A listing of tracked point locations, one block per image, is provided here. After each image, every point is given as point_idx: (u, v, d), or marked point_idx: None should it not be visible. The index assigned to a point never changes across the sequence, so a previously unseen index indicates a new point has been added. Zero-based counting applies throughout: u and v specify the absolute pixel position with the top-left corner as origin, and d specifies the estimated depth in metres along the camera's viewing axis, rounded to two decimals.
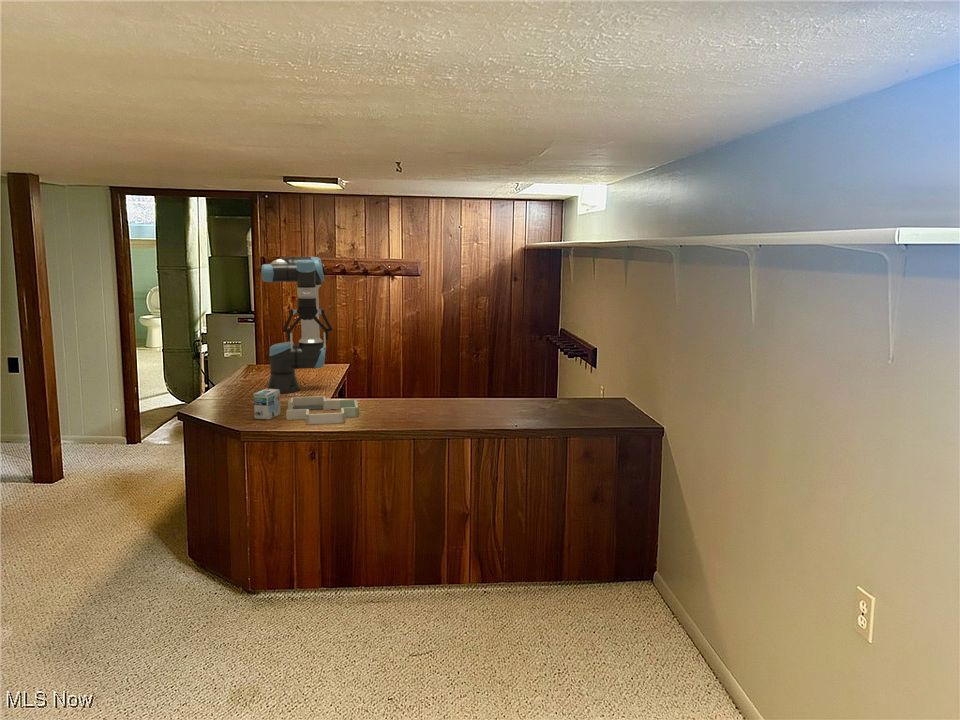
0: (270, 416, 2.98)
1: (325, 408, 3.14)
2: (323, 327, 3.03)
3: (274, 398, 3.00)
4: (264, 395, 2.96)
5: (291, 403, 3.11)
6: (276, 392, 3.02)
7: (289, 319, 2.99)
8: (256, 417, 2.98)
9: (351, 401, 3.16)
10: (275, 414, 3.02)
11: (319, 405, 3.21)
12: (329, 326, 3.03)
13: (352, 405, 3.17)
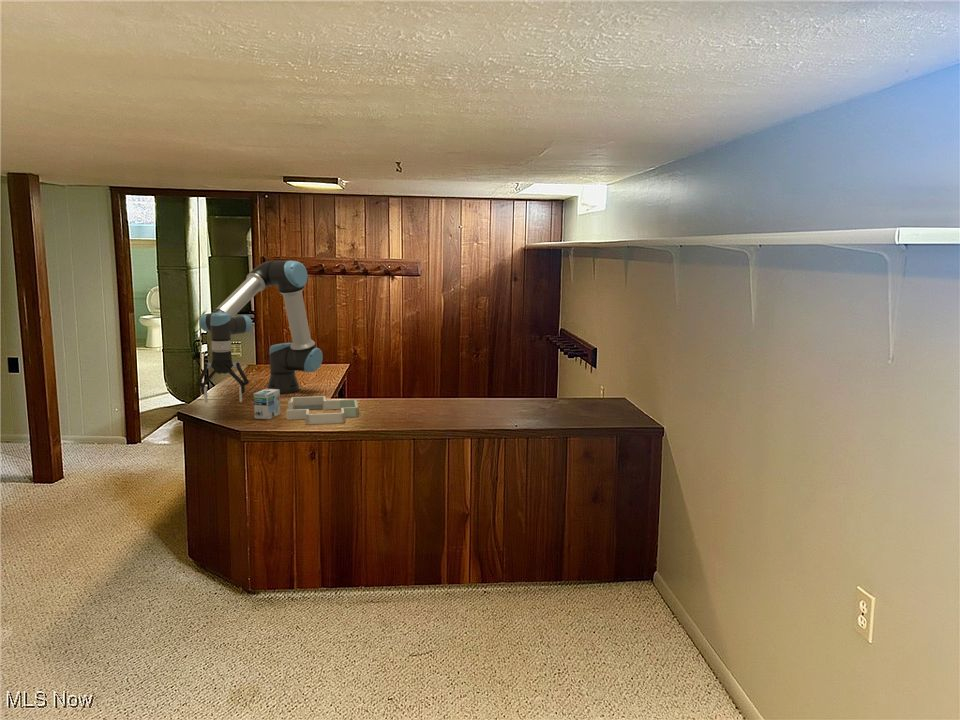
0: (270, 416, 2.98)
1: (325, 408, 3.14)
2: (239, 381, 2.96)
3: (274, 398, 3.00)
4: (264, 395, 2.96)
5: (291, 403, 3.11)
6: (276, 392, 3.02)
7: (203, 373, 2.93)
8: (256, 417, 2.98)
9: (351, 401, 3.16)
10: (275, 414, 3.02)
11: (319, 405, 3.21)
12: (245, 380, 2.97)
13: (352, 405, 3.17)
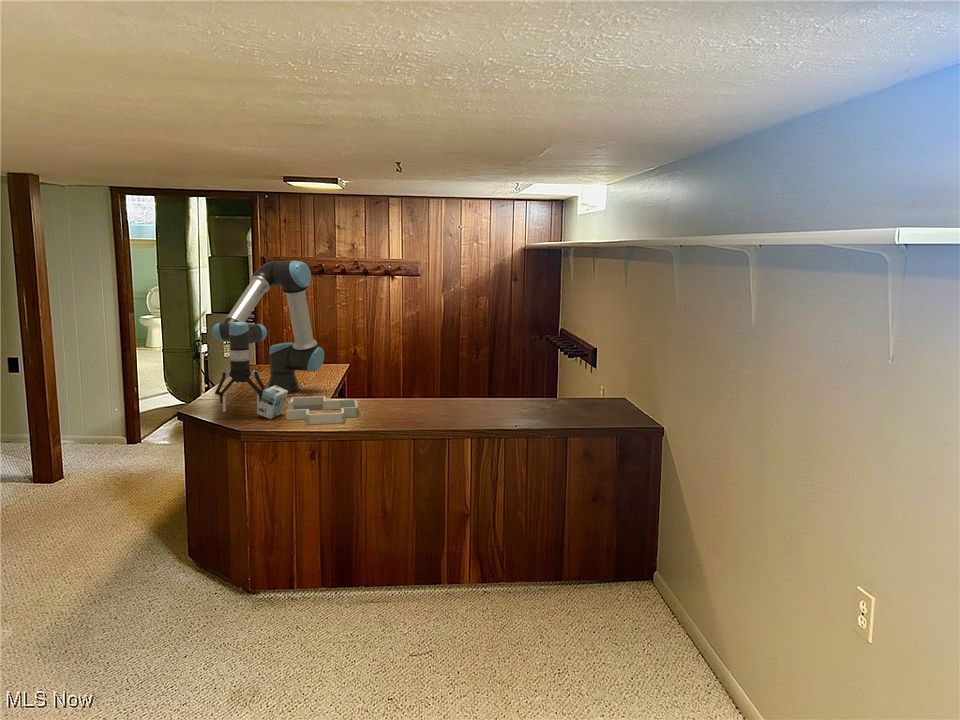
0: (272, 416, 2.98)
1: (325, 408, 3.14)
2: (256, 390, 2.98)
3: (280, 399, 3.00)
4: (273, 395, 2.95)
5: (291, 403, 3.11)
6: (284, 393, 3.02)
7: (221, 382, 2.95)
8: (258, 413, 2.97)
9: (351, 401, 3.16)
10: (277, 414, 3.02)
11: (319, 405, 3.21)
12: (263, 389, 2.99)
13: (352, 405, 3.17)
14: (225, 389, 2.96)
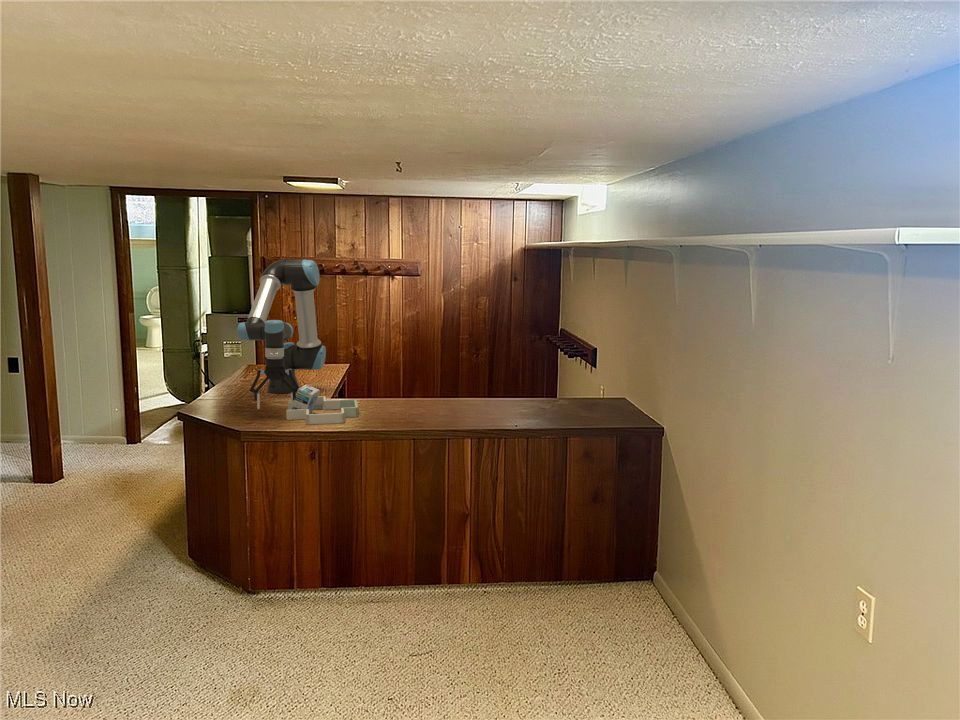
0: None
1: (325, 408, 3.14)
2: (290, 387, 3.01)
3: (313, 398, 3.03)
4: (308, 394, 2.98)
5: None
6: (317, 392, 3.05)
7: (256, 379, 2.98)
8: None
9: (351, 401, 3.16)
10: (309, 413, 3.05)
11: (319, 405, 3.21)
12: (296, 386, 3.01)
13: (352, 405, 3.17)
14: (260, 386, 2.98)
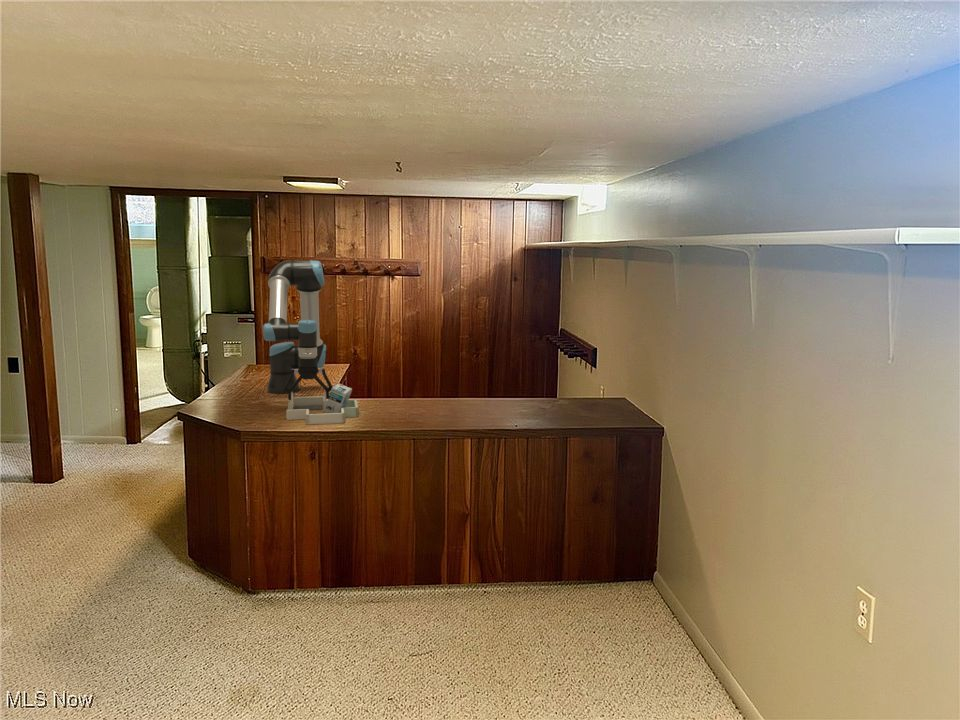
0: None
1: None
2: (324, 386, 3.04)
3: (347, 397, 3.06)
4: (342, 393, 3.01)
5: None
6: (350, 391, 3.08)
7: (290, 379, 3.00)
8: (326, 410, 3.02)
9: (351, 401, 3.16)
10: None
11: (319, 405, 3.21)
12: (330, 385, 3.04)
13: (352, 405, 3.17)
14: (293, 386, 3.01)
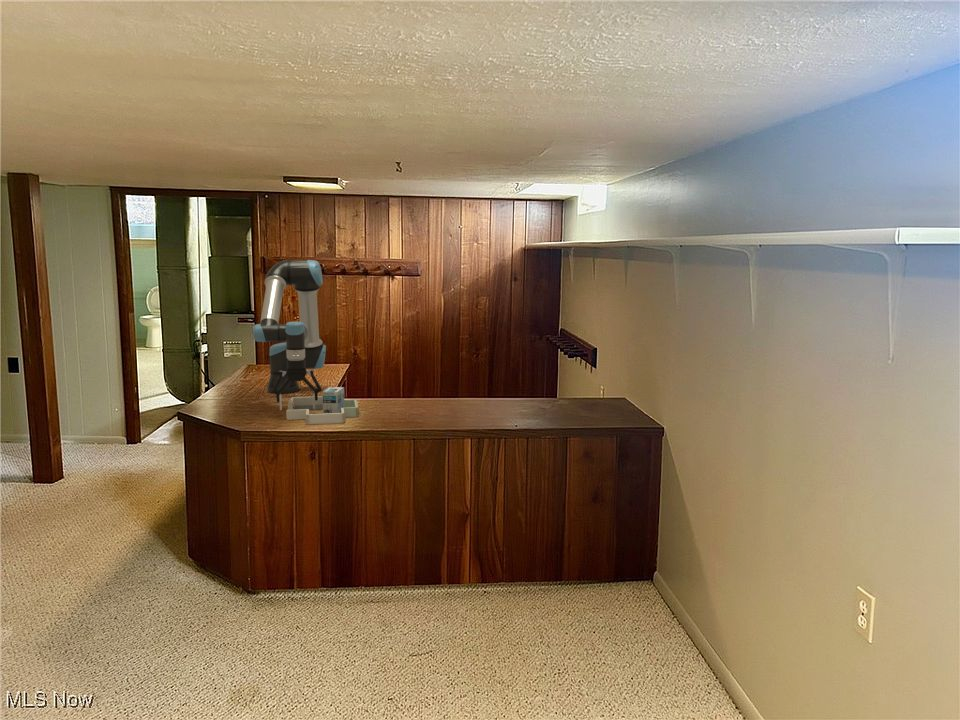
0: None
1: None
2: (312, 388, 3.04)
3: (341, 396, 3.06)
4: (333, 393, 3.01)
5: (291, 403, 3.11)
6: (342, 390, 3.08)
7: (278, 381, 3.00)
8: None
9: (351, 401, 3.16)
10: None
11: (319, 405, 3.21)
12: (318, 387, 3.04)
13: (352, 405, 3.17)
14: (282, 388, 3.01)
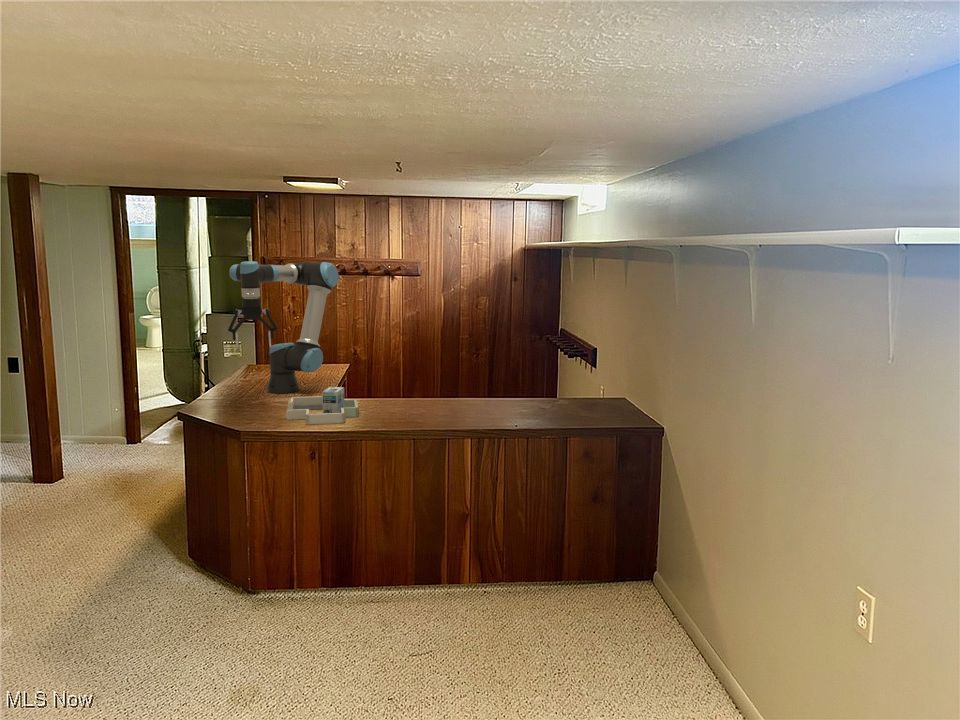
0: None
1: None
2: (268, 326, 3.12)
3: (341, 396, 3.06)
4: (333, 393, 3.01)
5: (291, 403, 3.11)
6: (342, 390, 3.08)
7: (234, 319, 3.08)
8: None
9: (351, 401, 3.16)
10: None
11: (319, 405, 3.21)
12: (274, 325, 3.13)
13: (352, 405, 3.17)
14: (238, 326, 3.09)
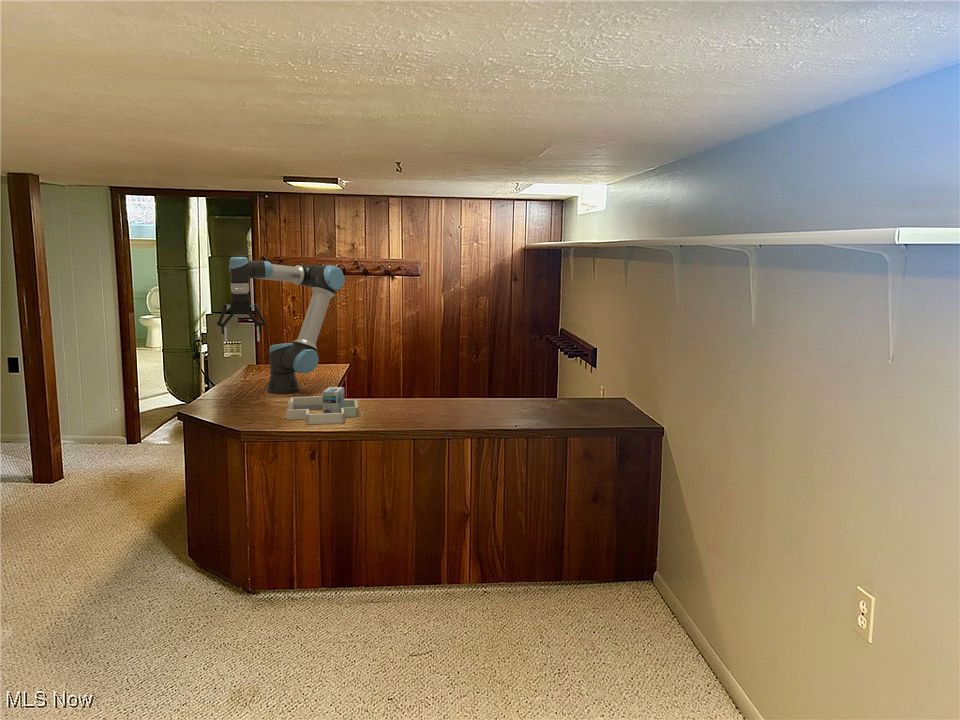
0: None
1: None
2: (256, 321, 3.15)
3: (341, 396, 3.06)
4: (333, 393, 3.01)
5: (291, 403, 3.11)
6: (342, 390, 3.08)
7: (223, 313, 3.12)
8: None
9: (351, 401, 3.16)
10: None
11: (319, 405, 3.21)
12: (262, 320, 3.16)
13: (352, 405, 3.17)
14: (226, 320, 3.12)
